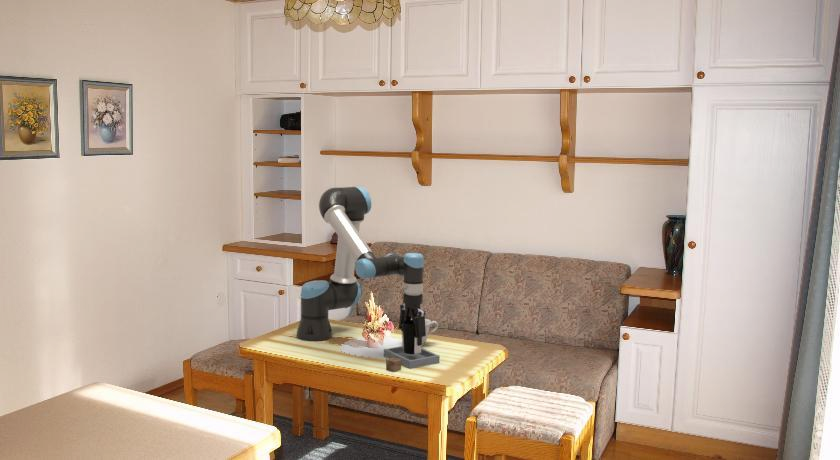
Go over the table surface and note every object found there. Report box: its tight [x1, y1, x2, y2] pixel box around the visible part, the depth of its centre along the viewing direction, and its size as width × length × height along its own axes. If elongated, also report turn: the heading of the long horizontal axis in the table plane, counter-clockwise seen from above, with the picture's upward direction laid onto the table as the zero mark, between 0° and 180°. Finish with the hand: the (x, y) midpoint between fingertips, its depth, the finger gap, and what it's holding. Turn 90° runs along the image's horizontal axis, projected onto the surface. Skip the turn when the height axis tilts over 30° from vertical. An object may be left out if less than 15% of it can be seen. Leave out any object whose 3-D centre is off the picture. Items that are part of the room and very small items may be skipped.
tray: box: [383, 345, 440, 369], centre depth 300 cm, size 18×14×3 cm
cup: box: [402, 320, 416, 354], centre depth 299 cm, size 8×8×12 cm
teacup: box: [411, 318, 439, 347], centre depth 321 cm, size 12×15×10 cm
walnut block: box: [385, 358, 402, 373], centre depth 287 cm, size 4×4×4 cm
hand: (411, 350), depth 300 cm, fingers closed on cup, 8 cm apart
